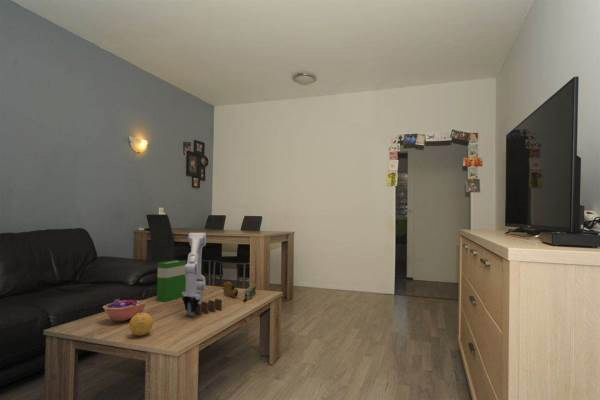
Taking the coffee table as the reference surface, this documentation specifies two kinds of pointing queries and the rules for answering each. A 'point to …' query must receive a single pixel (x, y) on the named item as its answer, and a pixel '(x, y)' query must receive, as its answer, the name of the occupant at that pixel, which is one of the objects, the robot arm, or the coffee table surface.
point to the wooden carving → (229, 289)
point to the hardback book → (170, 280)
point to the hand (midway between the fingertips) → (190, 311)
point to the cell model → (124, 309)
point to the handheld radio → (249, 292)
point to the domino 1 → (189, 309)
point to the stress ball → (141, 324)
